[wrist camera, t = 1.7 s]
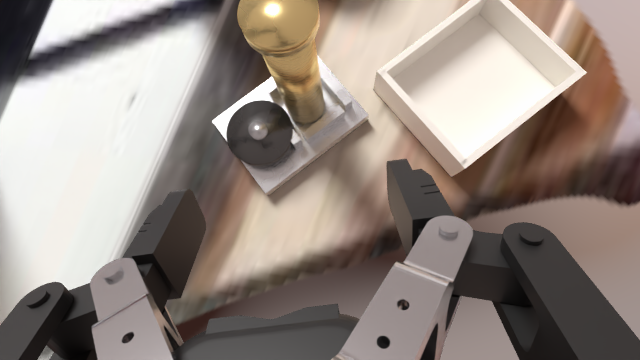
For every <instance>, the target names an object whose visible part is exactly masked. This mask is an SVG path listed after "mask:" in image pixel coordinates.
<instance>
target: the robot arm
mask: <svg viewBox="0 0 640 360" xmlns="http://www.w3.org/2000/svg"><path fill="white" fill-rule="evenodd" d="M387 190H388V200H389V205H390V209H391V212H392V215H393V218H394V220H395V223H396V226H397V229H398V232H399V235H400V238H401V241H402V244H403V247H404V250H405V252H406V255H407V258H406V259H405V261H404V262H403V263H402V262H400V261H398V262H396V263H395V264H394V265H393V267H392V268H391V270H390V271H389V273H388V275H387V276H386V278H385V280H384V281H383V283H382V284H381V286H380V288H379V289H378V291H377V293H376V294H375V296H374V297H373V299H372V301H371V302H370V304H369V305H368V307H367V309H366V310H365V312H364V314H363V315H362V317H361V318H360V319H358V318H355V317H352V316H349V315H344V314H340V313H339V308H338V304H332V305H323V306H315V307H307V308H303V309H301V310H298V311H295V312H292V313H289V314H287V315H284V316H281V317H279V318H276V319H263V318H256V317H248V316H232V317H224V318H216V319H210V320H209V323H208V327H207V330H206V331H204V332H202V333H200V334H198V335H196V336H194V337H193V338H191V339H189V340H188V341H186V342H185V343H183V341H182V339H181V337H180V335H179V333H178V331H177V328H176V326H175V324H174V322H173V320H172V318H171V316H170V314H169V312H168V310H167V308H166V307H165V304H166V302H167V300H169V299H177V298H181V296H182V293H183V290H184V288H185V285H186V282H187V280H188V277H189V274H190V272H191V269H192V266H193V263H194V261H195V258H196V255H197V253H198V250H199V247H200V245H201V242H202V239H203V237H204V234H205V230H206V222H205V218H204V216H203V213H202V211H201V209H200V207H199V205H198V202H197V200H196V198H195V196H194V194H193V192H192V191H191V190H190V189H186V190H179V191H172V192H170V193H169V194H168V195H167V197H166V199H165V200H164V202H163V204H162V205H159V206H158V207H157V208H156V209H155V210H153V211H152V212H151V213H150V214H149V215H148V217H147V219H146V220H145V222H144V225H143V226H142V227H141V228H140V230H139V233H137V235H136V236H135V238H134V240H133V241H132V243H131V244H130V246H129V248H128V249H127V251H126V252H125V254H124V256H123V257H122V258H121V259H117V260H114V261H112V262H110V263H108V264H106V265H105V266H103V267H102V268H101V269H100V270H99V271H98V272H96V274H95V275H94V276H93V278H92V280H91V282H90V283H88V284H86V285H83V286H80V287H78V288H75V289H72V290H69V291H68V290H67V289H66V287H65V286H64V285H63V284H61V283H59V282H52V283H48V284H45V285H42V286H40V287H38V288H36V289H35V290H33V291H31V292H30V293H29V294H27V295H26V296H25V297H24V298H23V299H21V300H20V302H19V303H18V304H17V305H16V306H15V308H14V309H13V310H12V311H11V313H10V314H9V315H8V317H7V318H6V319H5V320H4V322H3V323H2V324H1V325H0V360H37V359H38V357H39V356H40V354H41V353H42V351H43V349H44V348H45V346H46V345H47V346H48V347H49V348H50V349H51V350H52V351H54V353H53V355H52V357H51V358H50V360H440V358H441V354H442V351H443V347H444V343H445V340H446V337H447V334H448V332H449V329H450V327H451V324H452V322H453V319H454V317H455V314H456V311H457V309H458V306H459V304H460V301H461V299H462V296H466V297H472V298H478V299H484V300H490V301H492V302H493V304H494V307H495V309H496V311H497V313H498V315H499V317H500V319H501V321H502V323H503V326H504V328H505V330H506V332H507V334H508V336H509V338H510V341H511V343H512V345H513V347H514V349H515V351H516V353H517V355H518V357H519V360H640V340H639V339H638V337H637V336H636V335H635V334H634V332H633V331H632V330H631V329H630V328H629V326H628V325H627V324H626V323H625V321H624V320H623V319H622V318H621V316H619V314H618V313H617V312H616V311H615V309H614V308H613V307H612V305H611V304H610V303H609V302H608V300H606V298H605V297H604V296H603V294H602V293H601V292H600V291H599V289H598V288H597V287H596V286H595V284H594V283H593V282H592V281H591V280H590V278H589V277H588V276H587V275H586V273H585V272H584V271H583V270H582V268H581V267H580V266H579V265H578V264H577V262H576V261H575V260H574V259H573V257H572V256H571V255H570V254H569V252H568V251H567V250H566V249H565V247H564V246H563V245H562V244H561V242H560V241H559V240H558V239H557V238H556V236H555V235H554V234H553V233H551V232H550V231H549V230H547V229H545V228H543V227H541V226H538V225H535V224H532V223H524V222H523V223H514V224H511V225H509V226H507V227H506V228H505V229H504V232H503V234H495V233H485V232H479V231H475V230H472V228H471V226H470V225H469V224H468V223H467V222H465V221H464V220H462V219H460V218H457V217H455V216H454V214H453V212H452V211H451V209H450V207H449V205H448V204H447V202H446V200H445V199H444V197H443V195H442V194H441V193H440V190H439V188H438V187H437V186H436V183H435V182H434V180H433V178H432V176H431V175H429V174H428V173H426V172H425V171H423V170H422V169H419V170H412V169H411V167H410V165H409V163H408V161H407V159H400V160H393V161H387Z"/></svg>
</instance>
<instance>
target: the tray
mask: <svg viewBox="0 0 640 360" xmlns="http://www.w3.org/2000/svg"><path fill="white" fill-rule="evenodd" d="M586 73H587V72H586V71H585V70H584V69H582V68H581V67H580V66H579V65H578V64H577V63H576V62H575V61H574V60H573V59H572V58H571V57H569V56H568V55H567V54H566V53H565V52H564V51H563V50H562V49H561V48H560V47H559V46H558V45H557V44H555V43H554V42H553V41H552V40H551V39H550V38H549V37H548V36H547V35H546V34H545V33H544V32H542V31H541V30H540V29H539V28H538V27H537V26H536V25H535V24H534V23H533V22H532V21H531V20H530V19H528V18H527V17H526V16H525V15H524V14H523V13H522V12H521V11H520V10H519V9H518V8H517V7H515V6H514V5H513V4H512V3H511V2H510V1H509V0H470V1H469V2H468V3H466V4H465V5H464V6H462V7H461V8H460V9H458V10H457V11H456V12H454V13H453V14H452V15H450V16H449V17H448V18H447V19H445V20H444V21H443V22H441V23H440V24H439V25H437V26H436V27H435V28H433V29H432V30H431V31H429V32H428V33H427V34H425V35H424V36H423V37H421V38H420V39H419V40H417V41H416V42H415V43H413V44H412V45H411V46H409V47H408V48H407V49H405V50H404V51H403V52H401V53H400V54H399V55H397V56H396V57H395V58H394V59H392V60H391V61H390V62H388V63H387V64H386V65H384V66H383V67H382V68H380V69H379V70H378V71H377V73H376V78H375V83H374V89H373V90H374V91H375V92H376V93H377V94H378V95H379V96H380V97H381V99H382V100H383V101H384V102H385V103H386V104H387V105H388V106H389V108H390V109H391V110H392V111H393V112H394V113H395V114H396V115H397V117H398V118H399V119H400V120H401V121H402V122H403V123H404V124H405V126H406V127H407V128H408V129H409V130H410V131H411V132H412V133H413V135H414V136H415V137H416V138H417V139H418V140H419V141H420V142H421V144H422V145H423V146H424V147H425V148H426V149H427V150H428V151H429V153H430V154H431V155H432V156H433V157H434V158H435V159H436V160H437V162H438V163H439V164H440V165H441V166H442V167H443V168H444V169H445V171H446V172H447V173H448V174H449V175H450V176H451V177H452V176H454V175H456V174H457V173H459V172H461V171H462V170H464V169H465V168H467V167H468V166H469V165H470V164H472V163H473V162H474V161H476V160H477V159H478V158H479V157H481V156H482V155H483V154H484V153H486V152H487V151H488V150H489V149H491V148H492V147H493V146H495V145H496V144H497V143H498V142H500V141H501V140H502V139H503V138H505V137H506V136H507V135H508V134H510V133H511V132H512V131H514V130H515V129H516V128H517V127H519V126H520V125H521V124H522V123H524V122H525V121H526V120H527V119H529V118H530V117H531V116H533V115H534V114H535V113H536V112H538V111H539V110H540V109H541V108H543V107H544V106H545V105H546V104H548V103H549V102H550V101H552V100H553V99H554V98H555V97H557V96H558V95H559V94H560V93H562V92H563V91H564V90H565V89H567V88H568V87H569V86H571V85H572V84H573V83H574V82H576V81H577V80H578V79H579V78H581V77H582V76H583V75H584V74H586Z"/></svg>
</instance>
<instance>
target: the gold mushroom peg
mask: <svg viewBox="0 0 640 360" xmlns="http://www.w3.org/2000/svg"><path fill="white" fill-rule="evenodd" d="M237 18H238V23H239V26H240V28H241V30H242V32H243V34H244V36H245V38H246V40H247V42H248V43H249V45H250V46H251V47H252V48H253V49H254V50H256V51H257V52H259V53H260V54H262V55H263V58H264V60H265V62H266V64H267V67H268V69H269V71H270V73H271V75H272V78H273V80H274V82H275V84H276V87H277V89H278V91H279V93H280V96H281V98H282V100H283V102H284V104H285V107H286V109H287V111H288V113H289V115H290V117H291V118H292V119H293V120H295V121H297V122H299V123H311V122H313V121H315V120H317V119H318V118H319V117H320V116H321V115H322V113H323V111H324V106H325V104H324V97H323V90H322V84H321V77H320V71H319V64H318V58H317V51H316V45H315V36H316V34H317V32H318V29H319V25H320V15H319V6H318V0H240V2H239V5H238V10H237Z"/></svg>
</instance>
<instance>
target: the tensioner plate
mask: <svg viewBox="0 0 640 360" xmlns="http://www.w3.org/2000/svg"><path fill="white" fill-rule="evenodd" d="M317 58H318V64H319V71H320V77H321V84H322V90H323V97H324V104H325V106H324V111H323V113H322V115H321V116H320V117H319V118H318V119H317V120H315V121H313V122H311V123H299V122H297V121H295V120H293V119H292V118H291V117H290V115H289V113H288V111H287V109H286V107H285V104H284V102H283V100H282V98H281V96H280V93H279V91H278V89H277V87H276V84H275V82H274V80H273V78H272V77H271V78H269V79H268V80H267V81H265V82H264V83H263V84H261V85H260V86H259V87H257V88H256V89H254V90H253V91H252V92H250V93H249V94H248V95H246V96H245V97H244V98H242V99H241V100H240V101H238V102H237V103H236V104H234V105H233V106H232V107H230V108H229V109H227V110H226V111H225V112H223V113H222V114H221V115H219V116H218V117H217V118H215V119H214V120H213V121H212V122H213V123H214V124H215V126H216V127H217V128H218V130H219V131H220V133H221V134H222V135H223V137H224V138H225V139H226V141H227V142H228V145H229V147H230V149H231V151H232V152H233V153H234V155H236V156H237V157H238V158H239V159H240V160H241V161H242V163H243V164H244V165H245V167H246V168H247V169H248V171H249V172H250V173H251V175H252V176H253V177H254V179H255V180H256V182H257V183H258V184H259V186H260V187H261V188H262V190H263V191H264V192H265V194H267V195H268V196H269V195H270V194H271V193H272V192H274V191H275V190H276V189H278V188H279V187H280V186H282V185H283V184H284V183H286V182H287V181H288V180H290V179H291V178H292V177H293V176H295V175H296V174H297V173H299V172H300V171H301V170H303V169H304V168H305V167H307V166H308V165H309V164H310V163H312V162H313V161H314V160H316V159H317V158H318V157H320V156H321V155H322V154H324V153H325V152H326V151H327V150H329V149H330V148H331V147H333V146H334V145H335V144H337V143H338V142H339V141H341V140H342V139H343V138H345V137H346V136H347V135H348V134H350V133H351V132H352V131H354V130H355V129H356V128H358V127H359V126H360V125H362V124H363V123H364V122H365V121H367V120H368V116H369V115H368V114H367V112H366V111H365V110H364V109H363V108H362V107H361V106H360V104H359V103H358V102H357V101H356V100H355V99H354V97H353V96H352V95H351V94H350V93H349V92H348V91H347V89H346V88H345V87H344V86H343V85H342V84H341V82H340V81H339V80H338V79H337V78H336V77H335V76H334V74H333V73H332V72H331V71H330V70H329V69H328V67H327V66H326V65H325V64H324V63H323V62H322V61H321V59H320V58H319V57H318V56H317Z"/></svg>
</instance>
